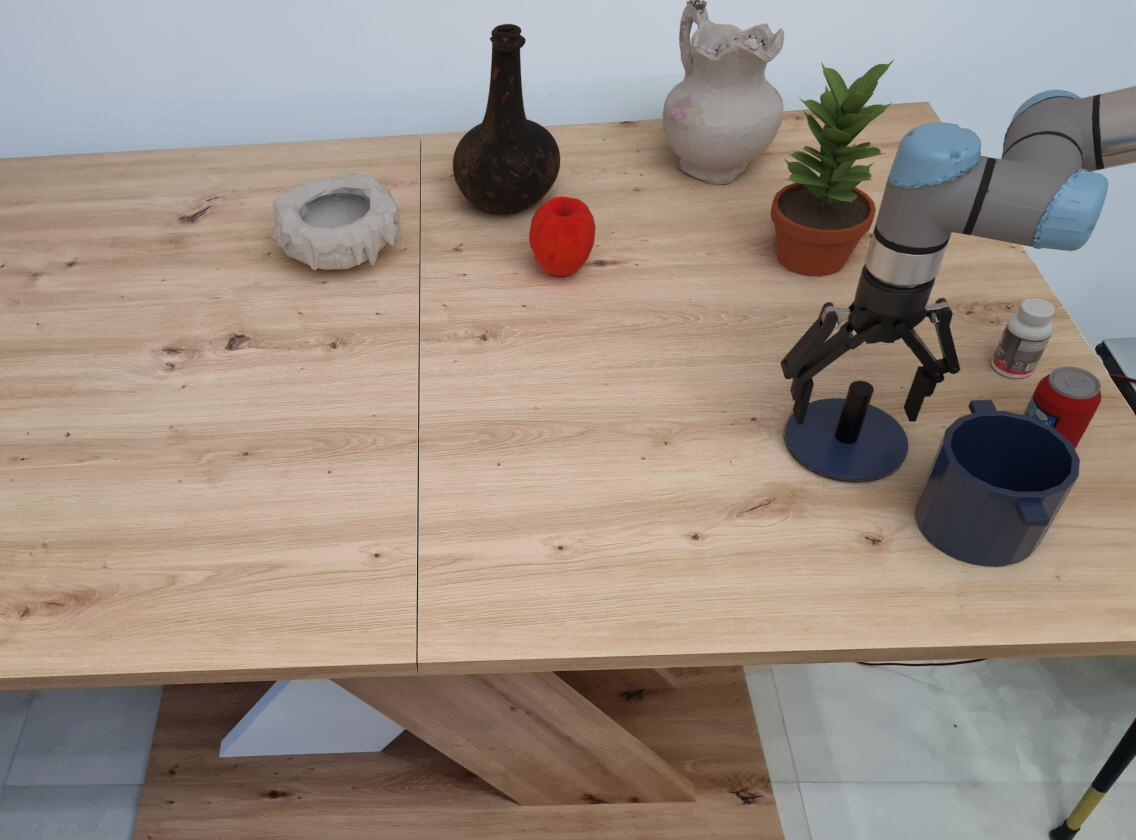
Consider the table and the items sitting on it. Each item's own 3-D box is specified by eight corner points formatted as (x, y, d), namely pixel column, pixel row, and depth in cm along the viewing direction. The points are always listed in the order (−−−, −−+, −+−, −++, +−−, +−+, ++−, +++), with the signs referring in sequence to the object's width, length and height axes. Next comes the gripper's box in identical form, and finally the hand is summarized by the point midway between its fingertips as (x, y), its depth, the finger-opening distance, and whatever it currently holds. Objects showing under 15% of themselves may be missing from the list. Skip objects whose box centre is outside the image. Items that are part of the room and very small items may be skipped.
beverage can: (1002, 435, 133) (1038, 360, 124) (1061, 439, 131) (1100, 364, 122) (1011, 472, 128) (1048, 397, 119) (1071, 477, 127) (1113, 402, 118)
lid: (889, 403, 138) (908, 347, 131) (920, 483, 128) (943, 427, 121) (774, 406, 139) (787, 351, 132) (796, 486, 129) (811, 431, 123)
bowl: (303, 306, 162) (292, 250, 154) (261, 242, 174) (250, 187, 167) (425, 267, 166) (421, 211, 159) (375, 208, 179) (369, 153, 172)
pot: (1009, 464, 129) (1044, 393, 121) (1066, 584, 117) (1110, 514, 108) (895, 467, 130) (922, 396, 122) (939, 586, 118) (973, 516, 109)
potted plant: (740, 245, 164) (775, 51, 142) (826, 222, 166) (874, 29, 144) (792, 297, 154) (838, 98, 132) (882, 272, 157) (943, 73, 134)
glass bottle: (469, 236, 171) (463, 64, 150) (442, 182, 183) (433, 16, 162) (573, 215, 173) (581, 43, 152) (540, 163, 185) (543, -3, 164)
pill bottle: (984, 355, 143) (1009, 295, 136) (1025, 353, 142) (1053, 293, 135) (997, 380, 139) (1023, 320, 132) (1039, 379, 139) (1068, 319, 132)
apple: (538, 295, 159) (539, 224, 150) (520, 260, 166) (520, 189, 157) (601, 283, 160) (606, 212, 151) (581, 248, 167) (585, 178, 157)
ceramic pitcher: (625, 167, 184) (629, 26, 165) (695, 117, 191) (707, -24, 171) (727, 211, 173) (745, 65, 153) (798, 156, 180) (823, 9, 160)
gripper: (1007, 245, 116) (948, 393, 132) (776, 254, 118) (746, 398, 134) (1030, 285, 111) (966, 433, 127) (789, 294, 113) (756, 439, 129)
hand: (853, 416), depth 130 cm, fingers open, 13 cm apart
